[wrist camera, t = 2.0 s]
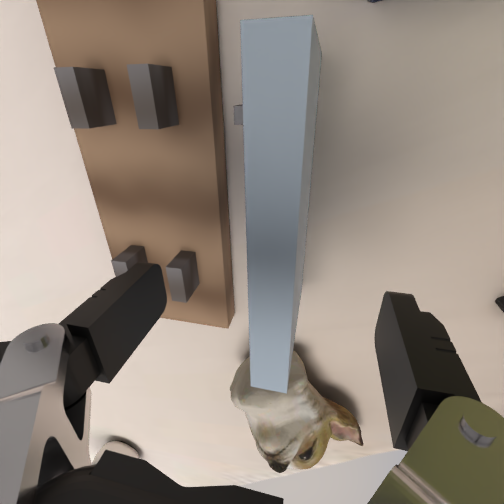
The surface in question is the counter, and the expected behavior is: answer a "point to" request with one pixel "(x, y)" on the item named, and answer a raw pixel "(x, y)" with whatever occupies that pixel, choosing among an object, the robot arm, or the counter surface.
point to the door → (277, 181)
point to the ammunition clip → (500, 303)
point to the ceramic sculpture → (292, 419)
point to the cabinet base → (152, 139)
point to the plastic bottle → (116, 450)
